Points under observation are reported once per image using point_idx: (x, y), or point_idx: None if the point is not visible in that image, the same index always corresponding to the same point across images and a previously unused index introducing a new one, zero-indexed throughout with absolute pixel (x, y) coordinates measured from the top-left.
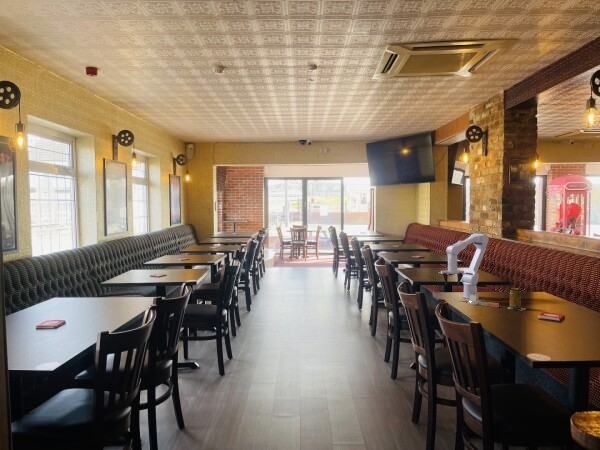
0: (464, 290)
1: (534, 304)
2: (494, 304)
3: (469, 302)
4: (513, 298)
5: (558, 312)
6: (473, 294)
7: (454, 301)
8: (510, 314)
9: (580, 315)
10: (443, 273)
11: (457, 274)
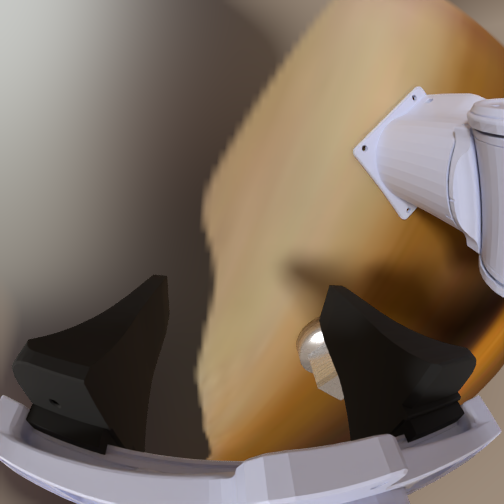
0: (407, 164)
1: (500, 317)
2: None
3: (299, 357)
4: None
5: (461, 389)
6: (335, 393)
7: (236, 279)
8: (344, 436)
9: (466, 398)
10: (58, 447)
11: (415, 383)
